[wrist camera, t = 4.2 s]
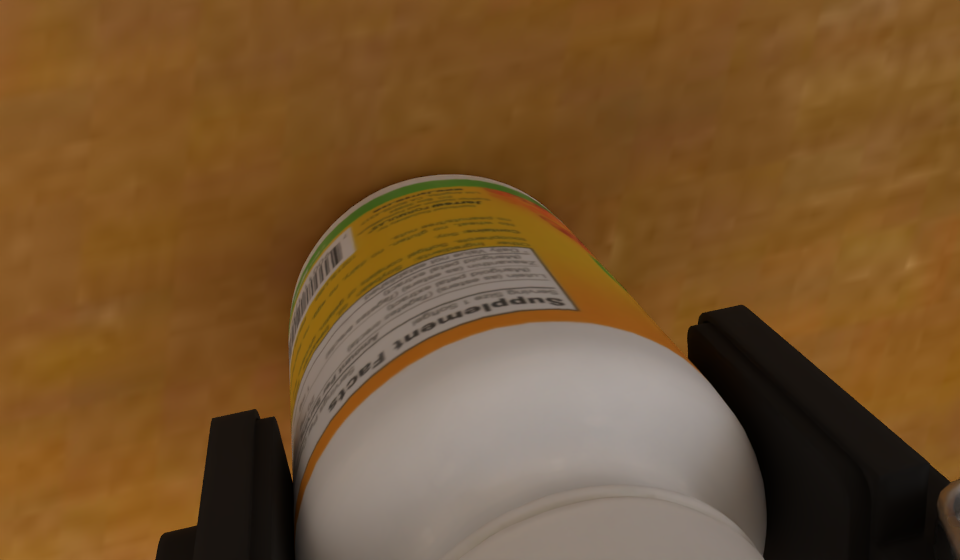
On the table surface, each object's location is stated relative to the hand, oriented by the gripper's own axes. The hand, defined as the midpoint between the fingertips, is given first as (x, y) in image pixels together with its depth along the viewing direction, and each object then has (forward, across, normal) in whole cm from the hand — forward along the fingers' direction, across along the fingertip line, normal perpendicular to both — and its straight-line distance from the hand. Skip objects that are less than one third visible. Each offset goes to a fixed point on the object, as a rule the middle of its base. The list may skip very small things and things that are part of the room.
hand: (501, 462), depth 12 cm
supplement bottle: (+5, 0, 0) cm, 5 cm away
